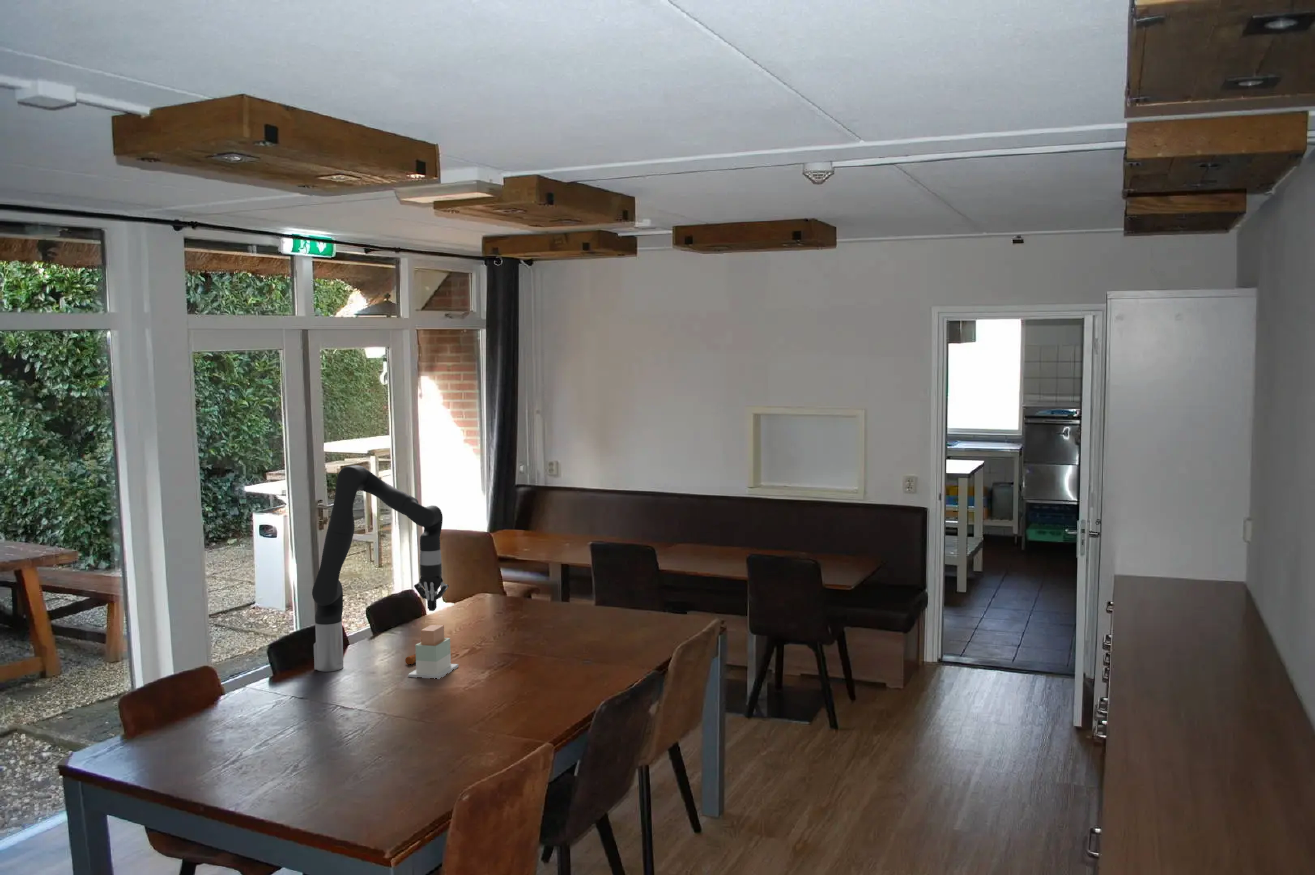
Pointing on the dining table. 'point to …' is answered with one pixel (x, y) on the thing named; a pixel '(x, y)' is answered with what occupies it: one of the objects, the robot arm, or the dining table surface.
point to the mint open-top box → (433, 660)
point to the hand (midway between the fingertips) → (432, 610)
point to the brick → (432, 635)
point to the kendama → (410, 659)
